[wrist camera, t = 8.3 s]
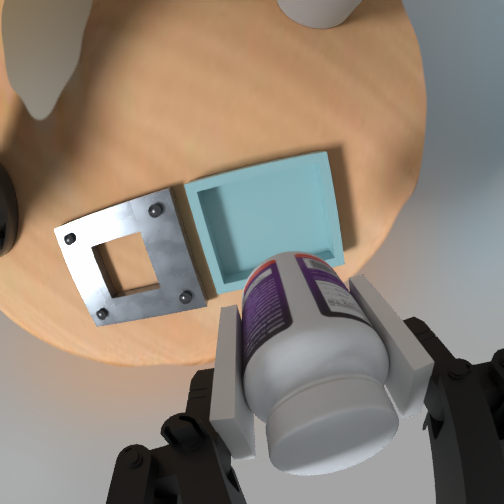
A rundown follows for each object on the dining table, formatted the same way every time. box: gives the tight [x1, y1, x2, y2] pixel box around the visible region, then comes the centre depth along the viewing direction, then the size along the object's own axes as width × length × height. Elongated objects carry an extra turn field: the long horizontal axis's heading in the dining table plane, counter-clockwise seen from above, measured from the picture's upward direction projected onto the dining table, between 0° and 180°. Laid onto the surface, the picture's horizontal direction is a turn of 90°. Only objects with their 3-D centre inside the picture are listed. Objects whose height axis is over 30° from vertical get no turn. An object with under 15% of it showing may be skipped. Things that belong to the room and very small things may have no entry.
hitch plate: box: [54, 187, 208, 327], centre depth 31 cm, size 16×14×2 cm
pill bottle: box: [242, 251, 399, 475], centre depth 11 cm, size 5×5×10 cm
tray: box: [184, 151, 345, 294], centre depth 30 cm, size 14×12×3 cm
